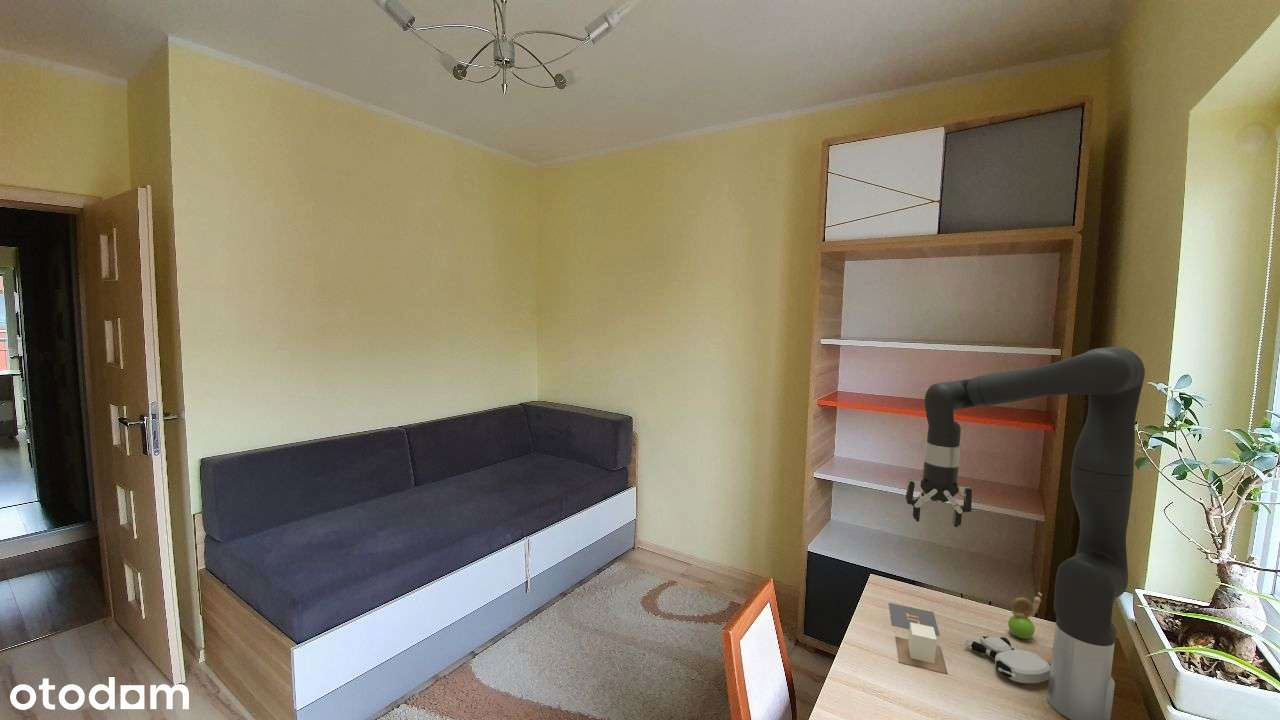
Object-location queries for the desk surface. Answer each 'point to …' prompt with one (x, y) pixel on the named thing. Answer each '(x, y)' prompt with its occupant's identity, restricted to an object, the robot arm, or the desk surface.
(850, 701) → the desk surface
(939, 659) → the walnut board
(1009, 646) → the robot toy
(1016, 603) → the snail figurine
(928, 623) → the mat
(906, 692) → the desk surface
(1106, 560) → the robot arm
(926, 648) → the white block
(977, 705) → the desk surface
